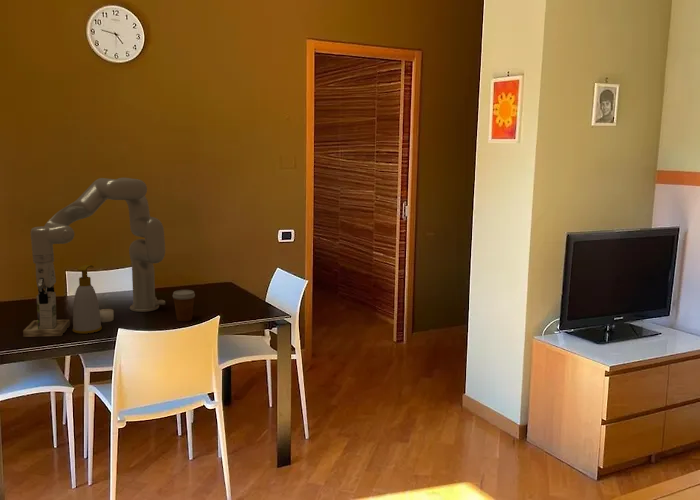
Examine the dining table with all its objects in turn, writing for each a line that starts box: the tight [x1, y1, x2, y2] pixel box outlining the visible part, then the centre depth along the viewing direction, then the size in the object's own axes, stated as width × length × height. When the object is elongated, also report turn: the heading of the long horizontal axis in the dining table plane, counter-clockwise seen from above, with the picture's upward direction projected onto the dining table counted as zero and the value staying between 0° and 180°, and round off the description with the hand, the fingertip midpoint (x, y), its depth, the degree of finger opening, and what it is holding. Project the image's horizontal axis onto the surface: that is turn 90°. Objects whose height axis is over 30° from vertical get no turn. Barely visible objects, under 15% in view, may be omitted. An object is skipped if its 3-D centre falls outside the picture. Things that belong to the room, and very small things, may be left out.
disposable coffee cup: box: [172, 289, 196, 322], centre depth 291 cm, size 10×10×12 cm
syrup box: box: [36, 291, 58, 329], centre depth 270 cm, size 6×6×14 cm
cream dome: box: [99, 308, 115, 323], centre depth 288 cm, size 7×7×4 cm
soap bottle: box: [72, 264, 103, 335], centre depth 271 cm, size 11×12×26 cm
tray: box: [22, 319, 71, 338], centre depth 271 cm, size 14×14×2 cm
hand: (47, 300), depth 270 cm, fingers open, 9 cm apart
